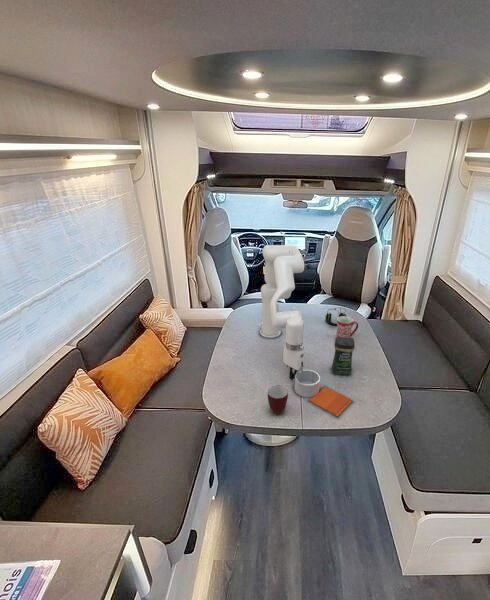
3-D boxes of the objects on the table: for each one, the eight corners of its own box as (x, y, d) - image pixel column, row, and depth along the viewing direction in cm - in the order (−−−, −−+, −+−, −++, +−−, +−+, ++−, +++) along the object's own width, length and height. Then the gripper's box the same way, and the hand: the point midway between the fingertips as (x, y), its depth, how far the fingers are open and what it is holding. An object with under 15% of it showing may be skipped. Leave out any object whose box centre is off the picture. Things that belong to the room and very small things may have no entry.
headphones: (346, 302, 210) (354, 315, 192) (345, 315, 214) (353, 329, 195) (323, 302, 208) (329, 316, 190) (322, 315, 212) (328, 329, 194)
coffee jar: (332, 375, 152) (335, 342, 144) (331, 365, 159) (334, 333, 152) (352, 376, 151) (356, 343, 144) (350, 366, 158) (354, 335, 151)
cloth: (309, 400, 135) (309, 399, 134) (325, 387, 143) (325, 386, 143) (337, 416, 126) (337, 415, 126) (352, 401, 135) (352, 400, 135)
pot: (289, 389, 141) (289, 377, 139) (304, 378, 149) (305, 366, 146) (309, 400, 134) (310, 388, 132) (324, 388, 142) (325, 376, 140)
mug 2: (336, 344, 178) (339, 323, 173) (333, 336, 187) (335, 316, 181) (358, 344, 179) (361, 323, 174) (354, 336, 188) (356, 316, 182)
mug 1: (266, 400, 134) (267, 381, 130) (285, 399, 135) (286, 381, 131) (268, 419, 124) (268, 399, 120) (288, 417, 125) (289, 398, 121)
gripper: (312, 347, 137) (310, 381, 144) (287, 335, 146) (286, 368, 153) (301, 354, 131) (299, 389, 139) (276, 341, 140) (275, 374, 148)
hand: (292, 378), depth 146 cm, fingers closed
